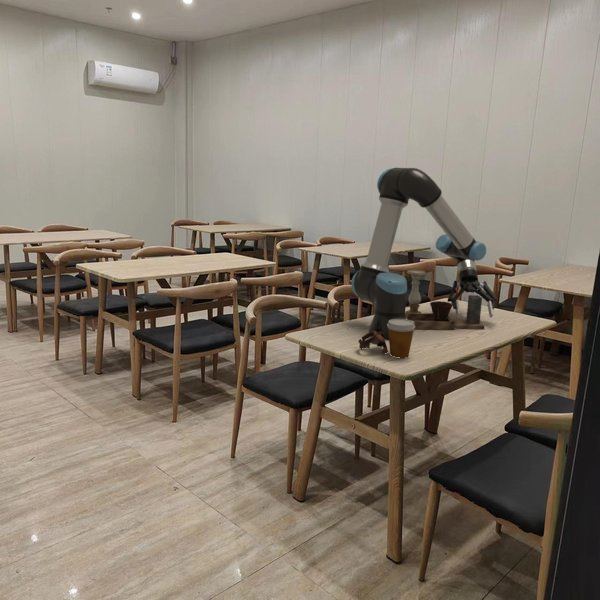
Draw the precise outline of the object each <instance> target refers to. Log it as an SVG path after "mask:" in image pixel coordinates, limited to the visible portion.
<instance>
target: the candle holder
mask: <svg viewBox="0 0 600 600" xmlns="http://www.w3.org/2000/svg"><path fill="white" fill-rule="evenodd" d="M406 272H407V274H408V275H411V276H410V277H411V278H412V281H411V283H410V284H411V292H410V293H409V295H408V302H409V304H408V307H409V310H407V311H406V310H405V318H406V319H407V313H422V311H419V308H420V307H421V305H420V304H421V301H422V297H421V294H420V291H419V290H420V289H419V288H420V287H419V286H420V285H421V282H420V279H421V277H422V275H423V276H424V275H426V271H424V270H420V269H410V270H407V271H406Z"/></svg>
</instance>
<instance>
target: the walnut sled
mask: <svg viewBox="0 0 600 600" xmlns="http://www.w3.org/2000/svg"><path fill="white" fill-rule="evenodd" d="M482 302H483V298H482V297H481V296H480V295H479V294H476V295H475V294H473V295H472V294H471V295H468V299H467V308H466V309H467V310H466V318H464V319H463V318H451V317H450V316H449V315H448V318H447V321H446V322H439V321H434V317H433V312H432V313H426V312H425V313H424V312H421V313H407V318H406V320H411V321H413V322H414V325H415V329H414V330H450V331H451V330H455V329H468V330H469V329H471V330H472V329H473V330H474V329H475V330H478V329H479V330H481V329H482V330H485V324H483V323H482V322H481V313H482V304H483V303H482ZM415 320H420V321H415Z"/></svg>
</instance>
